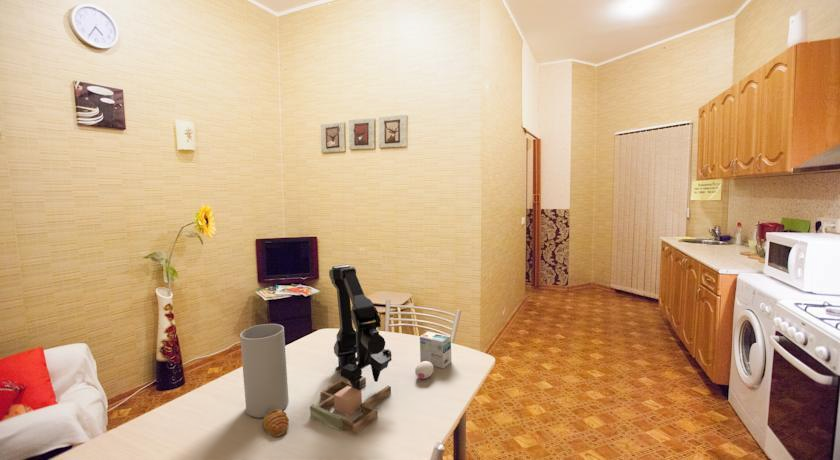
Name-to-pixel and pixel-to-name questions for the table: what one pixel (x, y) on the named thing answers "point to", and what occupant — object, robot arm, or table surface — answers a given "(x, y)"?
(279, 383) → the cylinder vase
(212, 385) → the table surface
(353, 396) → the terracotta block
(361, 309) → the robot arm
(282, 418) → the pastry
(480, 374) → the table surface
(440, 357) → the light bulb box
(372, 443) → the table surface
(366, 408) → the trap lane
